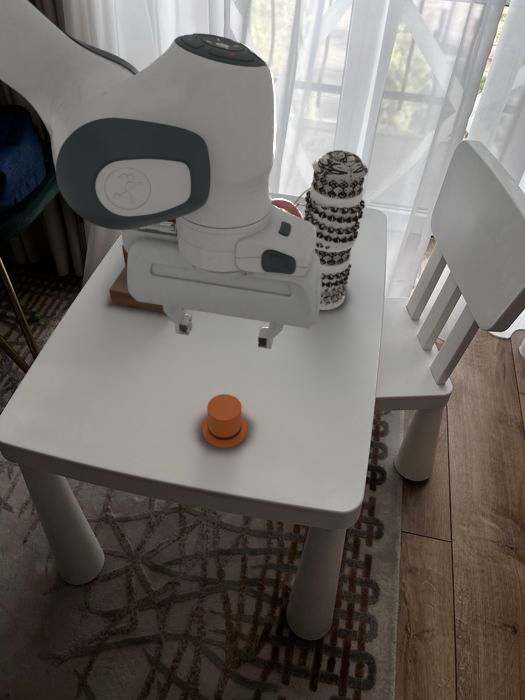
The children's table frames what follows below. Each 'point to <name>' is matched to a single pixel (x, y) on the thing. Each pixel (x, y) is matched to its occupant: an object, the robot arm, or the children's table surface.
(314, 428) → the children's table surface
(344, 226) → the decorative candle
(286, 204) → the anatomy model
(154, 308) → the stand
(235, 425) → the hat
